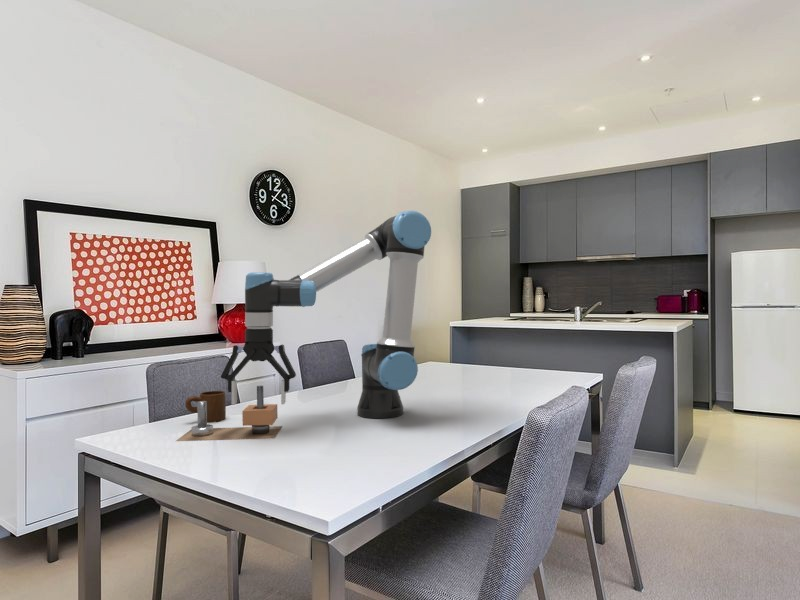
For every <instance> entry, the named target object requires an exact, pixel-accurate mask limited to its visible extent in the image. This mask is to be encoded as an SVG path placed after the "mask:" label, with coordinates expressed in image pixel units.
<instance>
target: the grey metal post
mask: <svg viewBox="0 0 800 600" xmlns="http://www.w3.org/2000/svg"><path fill="white" fill-rule="evenodd" d="M196 403H197V404H196V405H197V406H196V407H197V411H198V413H197V425H194V426H192V427H191V429H192V436H194V437H203V436H209V435H212V434H213V428H214V425H212V424H209V423H207V401H199V402H196Z"/></svg>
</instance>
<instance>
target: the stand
mask: <svg viewBox="0 0 800 600" xmlns="http://www.w3.org/2000/svg"><path fill="white" fill-rule="evenodd" d="M264 401H265V399H264V385H256V405H257V409H264ZM270 426H271V425H251V427H252V434H255V435H262V434H267V433H269V432H270Z"/></svg>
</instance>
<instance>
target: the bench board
mask: <svg viewBox="0 0 800 600" xmlns="http://www.w3.org/2000/svg"><path fill="white" fill-rule="evenodd" d="M269 426H270V432H269V433H267V434H262V435H255V434H252V426H243V427H242V426H241V427H240V426H237V427H236V426H235V427H213V434H212V435H209V436H203V437H194V436H192V428H191V429H190V430H188V431H187V432H185V433H184V434H183V435H182V436H180V437H179V438H177V439H176V440H175V442H194V441H197V442H198V441H227V440H228V441H229V440H231V441H232V440H234V441H235V440H259V439H260V440H261V439H262V440H263V439H264V440H267V439H269V440H270V439H275V438H276V437H277V435H278V434H279V433H280V431H281V430H282V428H283V425H279V426H277V425H276V426H274V425H269Z"/></svg>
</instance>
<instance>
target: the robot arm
mask: <svg viewBox="0 0 800 600" xmlns="http://www.w3.org/2000/svg"><path fill="white" fill-rule="evenodd" d="M431 236H432V226H431V223H430V221H429V219H428V218H427V217H426V216H425V215H424V214H423V213H421V212H419V211H417V210H406V211H405V210H404V211H402V212H401V211H400V212H399V213H398V214H396V215H394V216H391V217H389V218H388V219H386V220H385V221H383V222H382V223H381V224H379V225H378V226H377V227H375V228H374V229H373V230H371V231H369V232H367V233H366V234H365V236H364V238H362V239H361V240H360V241H358V242H356V243H353V244H352V245H350V246H348V247H347V248H344V249H343V250H342V251H341V250H340V251H339V252H337V253H336V254H334V255H331V256H330V257H328V258H326V259H324V260H323V261H321V262H318V263H317V264H315V265H313V266H312V267H310V268H308V269H306V270H304V271H303V272H301V273H299V274H297V275H296V276H294V277H291V278H290V279H284V280H283V279H275V278H274V274H273V273H272V272H260V271H259V272H254V271H253V272H249V273H247V274H246V275H245V285H244V311H245V312H244V315H245V316H244V318H245V319H244V326H245V327H246V329H245V330H244V345H239V344H234V345H233V346H232V353H231V355H230V358H229V359H228V361H227V363H226V365H225V367H224V369H223V371H222V373H221V375H220V378H221V379H224V380H227V392H228V393H231V403H230V404H231V406H235V405H236V404H237V402H238V401H237V398H238V396H237V395H238V391H237V389H238V383H237V382H238V379H235V378H236V377H237V375H239V373H240V372H241V371H242V370H243V369H244V368H245V367H246V365H247V364H248V362H250V361H252V362H266V361H267V362H268V363H269V364H270V365H271V366H272V367H273V368H274V369H275V370H276V372H277V373H278V374H279V376H280V377H281V378H282V380H281V381H280V382H281V383H280V387H281V390H280V393H281V395H280V396H281V397H280V400H281V401H280V403H281V405H285V404H286V402H287V398H286V392H289V391H290V380H291V379H295V378H296V377H297V373H296V371H295V370H294V367H293V365H292V364H291V361H290V359H289V357H288V356H287V353H286V349H285V344H280V345H274V339H273V338H274V337H273V336H274V334H273V333H274V330H273V328H271V327H273V326H274V314H273V312H274V310H273V309H274V307H301V308H305V307H312V306H314V305H315V303H316V301H317V292H319V291H321V290H322V289H324V288H326V287H328V286H330V285H331V284H334V283H335V282H337V281H340V280H341V279H342V278H344V277H346V276H348V275H350V274H352V273H353V272H355V271H357V270H358V269H360V268H362V267H364V266H366V265H367V264H369V263H372V262H373V261H375V260H378V261H381V260H383V259H385V258H387V257H388V259H389V269H388V278H387V279H388V280H387V290H386V299H385V310H384V319H383V321H384V322H383V331H382V337H381V338H380V339H379V340H378V341H377V342H376V343H371V344H370V343H368V344H364V345H362V348H361V354H360V355H361V378H362V379H361V381H362V382H361V383H362V386H361V387H362V390H361V395H360V398H359V401H358V405H357V407H356V408H357V409H356V410H357V411H356V413H357V415H358V416H359V417H363V418H369V419H389V418H395V417H399V416H402V415H403V414H404V406H403V405H404V404H403V402H402V400H401V399H402V398H401V395H400V394H399V391H402V390H404V389H406V388H408V387H409V386H411V385H412V384H413V383H414V381H415V380H416V379H417V376H418V371H419V369H418V368H419V367H418V363H417V360H416V358H415V357H414V356H415V345H414V343H413V342H412V340H411V339H412V338H411V337H412V327H413V326H412V325H413V318H414V316H413V314H414V306H415V295H416V287H417V275H418V266H419V264H418V263H420V262H421V260H422V259H424V256H425V246H426V245H427V244H428V243H429V241H430V239H431ZM243 351H244V354H245V355H246V356H244V357H243V359H242V361H241V362H239V364H238V365H237V366H236V367H235V368H234V370H233V371H232V372H231V370H232V368H233V366H234V364H235V362H236V360H237V359H238V356H239V354H241V353H242V352H243ZM274 351H276V353H277V354H279V356H280V359H281V360H282V362H283V364H284V367H285V369H286V370H285V369H284V368H283V367H282V366H281V365H280V363H279V362H278V361H277V360H276V359H275V357H274V356H273V352H274ZM230 372H231V373H230Z"/></svg>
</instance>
